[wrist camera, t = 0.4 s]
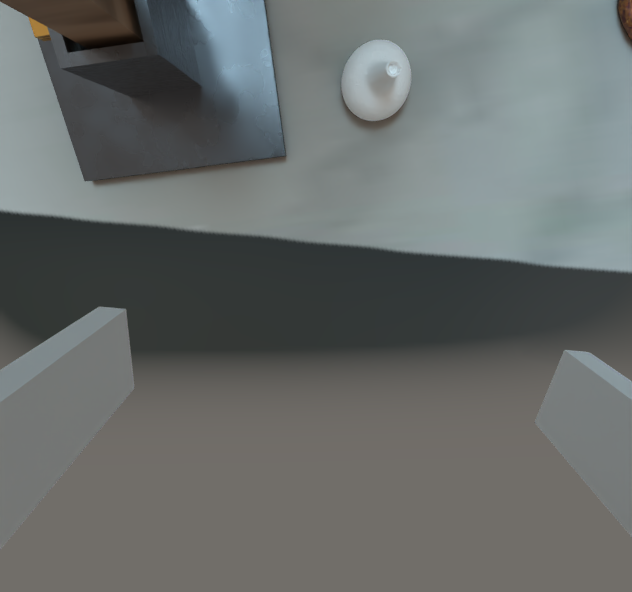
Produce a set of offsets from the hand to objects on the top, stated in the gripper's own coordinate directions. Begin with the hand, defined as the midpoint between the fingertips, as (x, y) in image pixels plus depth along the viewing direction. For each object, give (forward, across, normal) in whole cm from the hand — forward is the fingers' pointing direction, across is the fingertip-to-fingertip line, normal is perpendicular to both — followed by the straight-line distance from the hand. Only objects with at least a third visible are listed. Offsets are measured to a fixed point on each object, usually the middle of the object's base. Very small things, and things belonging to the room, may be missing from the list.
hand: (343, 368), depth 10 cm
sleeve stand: (+28, -16, +14) cm, 35 cm away
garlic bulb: (+28, +3, +13) cm, 31 cm away
